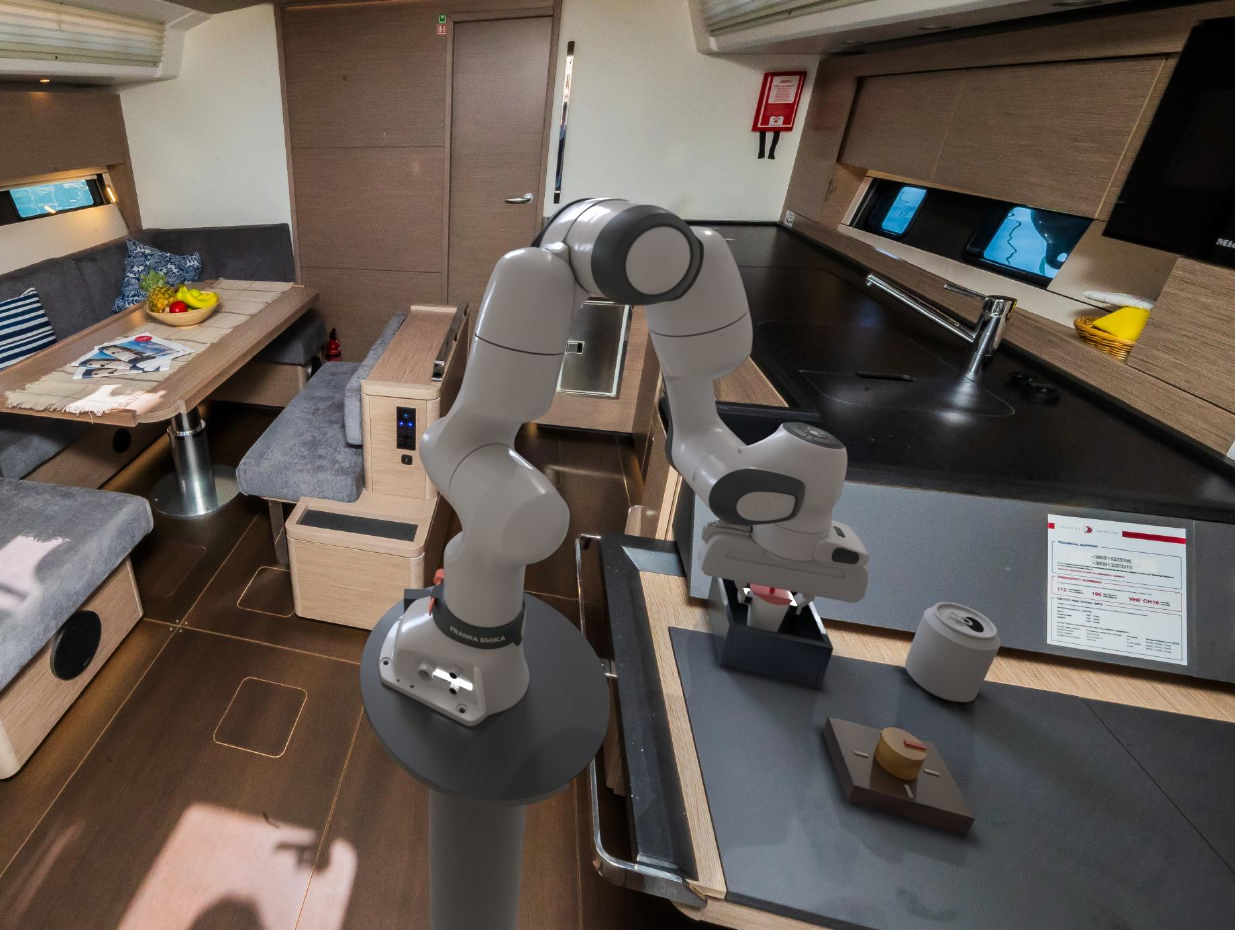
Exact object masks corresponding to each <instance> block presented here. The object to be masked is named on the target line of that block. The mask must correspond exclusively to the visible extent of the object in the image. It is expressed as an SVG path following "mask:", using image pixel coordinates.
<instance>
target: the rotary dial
mask: <svg viewBox="0 0 1235 930" xmlns="http://www.w3.org/2000/svg"><path fill="white" fill-rule="evenodd" d="M882 731H883V729H881V728H877V727H872V726H868V725H864V724H859V723H855V722H853V721H852V722H851V721H847V720H844V719H840V718H836V717H831V716H827V718H826V720H825V724H824V727H823V730H822V735H823V738H824V740H825V742H826V746H827V749H828V751H829V753H830V754H829V755H830V756H831V759H832V762H833V765H834V767H835V771H836V773H837V776H838V779H839V782H840V783H841V786H842V790H843V792H844V795H845V798H846V800H847V802H848V803H850V804H855V805H858V806H861V807H864V808H868V809H871V810H875V811H878V812H881V813H885V814H889V815H892V816H893V815H894V816H897V817H900V818H903V819H907V820H910V821H913V822H916V823H917V822H918V823H921V824H924V825H927V826H930V827H934V828H938V829H942V830H944V831H949V832H952V833H956V834H959V835H962V836H968V833H969V832H970V830H971V828H972V826H973V824H974V822H975V821H976V818H975V816H974V814H973V812H972V810H971V808H970V806H969V805H968V802H967V801H966V800H965V796H964V795H963V794H962V791H961V789H960V788H959V786H958V784H957V782H956V781H955V778H954V777H953V775H952V773H951V771H950V769H949V767H948V766H947V764H946V762H945V760H944V758H943V756H942V754H941V753H940V751H939V749H938V747H937V745H936V743H935V742H932V741H929V740H924V739H920V738H917V739H918V740H919V741H920V742H921V743H922V744H924V745H925V746H926V748H927V749H926V752H927V757H926V759H925V761H924V763H923V765H922V768H921V770H920V772H919V774H918V777H917V778H916V779H914V780H904V779H901V778H898V777H896V776H894V775H892V774H891V773H889V772H888V771H886V770H885V769H884V768H883V767H882V766H881V765H880V764H879V763H878V761H877V760H876V758H875V755H874V751H875V748H876V746H877V743H878V741H879V738H880V736H881V733H882Z"/></svg>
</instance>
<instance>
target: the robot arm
mask: <svg viewBox="0 0 1235 930" xmlns="http://www.w3.org/2000/svg"><path fill="white" fill-rule="evenodd" d="M734 257H735V256H734V255H733V252H732V251H731V249H730V246H729V244H728V242H727V241H726V239H725V237H723V236H722V234H720V232H718V231H717V230H714V229H712V228H709V227H706V226H695V225H694V226H691V225H690V226H689V225H688V224H687V223H686V221H685V220H683V218H681V217H680V216H678V215H677V214H676V213H674V212H672V211H670V210H668V209H666V208H663V207H662V206H659V205H656V204H655V205H654V204H641V203H638V202H633V201H630V200H627V199H624V198H618V197H617V198H616V197H615V198H614V197H605V198H604V197H602V198H593V197H583V198H579V199H575V200H573V201H570V202H567V203H566V204H564V205H562V206H561V207H559V208H558V209H557V210H555V211H554V212H553V213H552V214H551V216H549V217H548V219H547V221H546V222H545V224H544V225H543V227H542V229H541V231H540V232H539V233H538V234H537V235H536V237H535V238H534V239H532V241H531V244H530V246H529V247H521V248H517V249H513V250H511V251H508V252H506V253H505V254H503V255H502V256H501V257H500V258H499V259H498V260H497V262H496V264H495V266H494V268H493V269H492V273H491V276H490V277H489V280H488V283H487V284H486V288H485V291H484V293H483V298H482V300H481V303H480V306H479V309H478V313H477V316H476V321H475V325H474V329H473V334H472V339H471V342H470V349H469V352H468V357H467V362H466V365H465V370H464V373H463V374H464V375H463V379H462V382H461V386H460V389H459V391H458V393H457V396H456V398H455V400H454V402H453V404H452V406H451V408H450V410H448V413H447V414H446V415H445V416H443V417H440V418H438V419H437V420H435V421H434V422H433V423H431V424H430V425H429V426H428V427H427V428H426V430H425V431H424V432H423V435H422V437H421V439H420V442H419V446H418V455H419V458H420V459H419V460H420V461H421V464H422V466H423V468H424V471H425V473H426V475H427V477H428V480H429V481H430V483H431V484H432V485H433V487H434V488H435V489H436V490H437V491H438V492H439V494H440V495H441V496H442V497H443V498H444V499H445V500H446V501H447V502H448V503H449V505H451V507H452V508H453V510H454V511H455V512H456V515H457V517H458V519H459V521H460V525H461V529H462V531H460V532H458V533H457V534H456V535H455V536H453V538H452V539H450V540H449V541H448V542H447V544H446V546H445V548H444V551H443V568H439V569H438V568H437V570H436V572H435V575H434V577H433V583H434V586H435V585H436V586H435V587H434V588H433V590H432V592H431V590H424V589H425V588H422V589H421V588H404V589H403V599H404V615H402V616H401V617H400V618H399V619H398V620H397V621H396V622H395V623H394V625H393V626H392V627H391V629H390V631H389V632H388V634H387V636H386V639H385V641H384V644H383V647H382V650H381V654H380V661H379V673H380V678H381V681H382V682H383V683H384V684H386V685H388V686H389V687H391V688H393V689H395V690H397V691H399V692H401V693H403V694H405V695H407V696H409V697H411V698H413V699H415V700H417V701H419V702H421V703H423V704H425V705H427V706H429V707H431V708H433V709H435V710H437V711H439V712H441V713H443V714H445V715H446V716H448V717H450V718H452V719H454V720H456V721H458V722H460V723H462V724H464V725H466V726H475V725H477V724H479V723H480V722H481V721H482V720H484V719H485V718H486V717H487V716H489V715H491V714H494V713H498V712H501V711H504V710H507V709H509V708H511V707H512V706H514V705H515V704H517V703H518V702H519V701H520V700H521V699H522V697H523V696H524V694H525V692H526V690H527V688H528V684H529V670H528V666H527V663H526V660H525V656H524V651H523V643H522V639H523V636H524V631H525V620H526V609H525V599H524V596H523V592H524V586H525V577H526V568H527V565H531V564H532V565H533V564H537V563H539V562H541V561H544V560H545V559H548V558H549V557H550V556H552V555H553V554H554V553H555V552H556V551H557V550H559V547H560V546H561V545H562V544H563V543H564V540H565V538H566V536H567V534H568V531H569V526H570V517H571V514H570V508H569V506H568V504H567V502H566V500H564V498H563V496H561V494H560V493H559V491H558V490H557V488H556V487H555V486H554V484H552V482H551V481H550V480H549V479H548V477H547V476H546V475H545V474H544V473H543V472H542V471H540V470H539V469H538V468H537V467H535V466H534V465H533V464H531V463H530V462H529V461H528V460H526V459H525V458H524V457H523V456H522V455H520V453H518V452H517V451H516V449H515V448H516V447H515V439H516V436H517V433H518V432H519V429H520V428H521V427H522V425H523V424H527V423H531V422H534V421H537V420H538V419H540V418H542V417H544V416H545V415H546V414H547V413H548V412H549V410H550V408H551V407H552V405H553V402H554V398H555V394H556V390H557V386H558V381H559V378H560V374H561V370H562V367H563V363H564V358H565V356H566V355H565V354H566V351H567V346H568V343H569V337H570V331H571V326H572V323H573V322H574V320H575V317H576V315H577V313H578V312H579V310H580V308H581V307H582V306H583V304H584V303H586V301H587V300H589V298H590V297H591V296H592V295H593V296H596V297H598V298H599V297H600V298H603V299H607V300H609V301H612V302H614V303H617V304H619V305H623V306H624V305H625V306H631V307H633V306H634V307H639V306H643V310H644V315H645V318H646V323H647V328H648V332H649V334H650V339H651V343H652V346H653V348H654V352H655V354H656V357H657V359H658V363H659V366H660V373H661V379H662V384H663V389H664V395H665V401H666V407H667V411H668V418H669V419H668V429H667V433H666V438H665V441H664V442H665V443H664V454H665V458H666V461H667V462H668V464H669V465H670V467H672V468H673V470H674V471H676V473H678V474H679V476H680V477H681V478H683V480H684V481H685V482H686V483H687V484H688V486H689V487H690V488H691V490H692V491H693V492H694V493H695V494H696V496H698V497H699V499H700V500H701V501H702V502H703V503H704V505H705V506H706V507H707V508H708V509H709V511H710V512H711V513H713V515H714V516H715V517H716V518H717V519H716V520H714V521H709V522H707V523H704V525H703V527H702V531H701V539H702V541H701V544H700V546H699V549H698V553H697V561H698V562H697V563H698V566H699V568H700V569H699V570H701V572H702V573H703V574H704V575H705V576H708V577H712V576H713V577H718V578H723V579H729V580H734V581H735V585H736V587H737V589H738V595H737V596H738V601H739V603H743V604H748V605H751V601H752V598H753V597H752V595H751V592H750V589H748V588H744V587H746V586H747V583H750V584H755V585H760V586H766V587H771V588H776V589H782V590H787V591H792V592H797V593H798V594H796V595H795V596H794V597H793V601H792V602H791V603H790V605H789V607H788V609H787V612H789V613H793V614H798V615H800V612H801V609H802V607H804V606H806V605H807V604H809V603H810V602H812V601H813V602H814V601H815V598H816V597H818V598H825V599H830V600H834V601H841V602H845V603H851V604H855V603H858V602H860V601H862V600H864V598H865V596H866V592H867V589H868V584H869V571H868V569H867V567H866V565H867V564H868V563H869V561H870V556H869V553H868V550H867V549H866V547H865V545H864V543H863V541H862V540H861V538H860V537H859V536H858V534H857V533H856V532H855V531H854V530H853V528H852V527H850V526H849V525H846V524H844V523H841V522H839V521H836V520H834V519H833V516H832V515H833V514H832V512H833V510H834V507H835V506H836V505H837V504H838V502H839V501H840V498H841V496H842V492H843V488H844V484H845V482H846V481H845V480H846V475H847V469H848V451H847V448H846V446H845V445H844V444H843V442H842V441H840V440H839V439H838V438H836V437H835V436H834V435H833V434H831V433H830V432H828V431H826V430H824V429H821V428H819V427H816V426H814V425H811V424H807V423H803V422H796V421H792V422H791V421H788V422H783V423H781V424H780V425H779V427H778V428H777V429H776V431H774V432H773V433H772V434H770V435H769V436H767V437H766V438H764V439H762V440H759V441H758V442H755V443H753V444H750V445H747V444H746V443H745V442H743V441H742V440H741V439H740V438H739V437H738V436H737V434H735V433H734V431H733V430H732V429H731V428H730V427H729V426H728V425H727V424H726V423H725V422H724V421H723V420H722V419H721V417H720V416H719V413H718V410H717V403H716V396H715V389H714V388H715V387H714V380H718V379H721V378H724V377H726V376H728V375H730V374H732V373H733V372H735V371H736V370H738V369H740V368H741V367H742V365H743V364H745V362H746V361H747V360H748V358H749V357H750V356H751V354H752V350H753V338H754V337H753V336H754V332H753V330H754V329H753V322H752V316H751V312H750V307H749V301H748V298H747V294H746V289H745V286H744V282H743V279H742V276H741V272H740V270H739V267H738V265H737V262H736V260H735V258H734ZM384 664H388V665H384ZM460 711H463V712H465V713H460Z"/></svg>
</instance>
